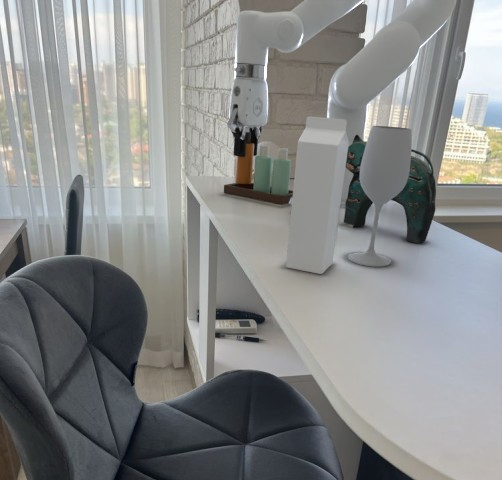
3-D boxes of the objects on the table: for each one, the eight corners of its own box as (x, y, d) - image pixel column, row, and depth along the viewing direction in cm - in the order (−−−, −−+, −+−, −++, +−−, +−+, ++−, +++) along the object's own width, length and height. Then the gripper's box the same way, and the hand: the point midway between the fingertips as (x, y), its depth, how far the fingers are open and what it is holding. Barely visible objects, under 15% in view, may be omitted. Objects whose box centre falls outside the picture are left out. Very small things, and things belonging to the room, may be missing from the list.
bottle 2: (289, 199, 126) (293, 148, 121) (285, 202, 122) (290, 150, 117) (272, 197, 127) (276, 147, 122) (268, 200, 123) (272, 148, 118)
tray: (299, 202, 126) (300, 191, 125) (280, 207, 120) (281, 196, 119) (243, 191, 135) (244, 181, 134) (223, 195, 129) (223, 184, 128)
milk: (297, 258, 85) (312, 115, 75) (332, 264, 83) (352, 119, 73) (285, 267, 80) (299, 116, 70) (322, 275, 78) (341, 119, 68)
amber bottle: (253, 182, 130) (257, 132, 125) (249, 184, 127) (252, 133, 121) (238, 180, 131) (240, 131, 126) (233, 182, 128) (235, 132, 122)
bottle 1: (271, 195, 129) (275, 146, 124) (267, 198, 125) (270, 147, 120) (255, 194, 130) (258, 144, 124) (250, 196, 126) (254, 146, 121)
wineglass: (338, 254, 88) (357, 124, 79) (375, 252, 91) (397, 126, 81) (362, 268, 82) (384, 129, 73) (401, 265, 84) (427, 130, 75)
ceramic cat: (333, 223, 108) (347, 123, 99) (350, 220, 113) (365, 123, 104) (417, 246, 96) (441, 133, 87) (433, 241, 100) (457, 133, 92)
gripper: (241, 72, 110) (236, 159, 118) (283, 76, 122) (276, 155, 131) (214, 70, 114) (212, 155, 122) (258, 75, 126) (252, 152, 134)
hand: (245, 154), depth 126 cm, fingers closed on amber bottle, 4 cm apart
